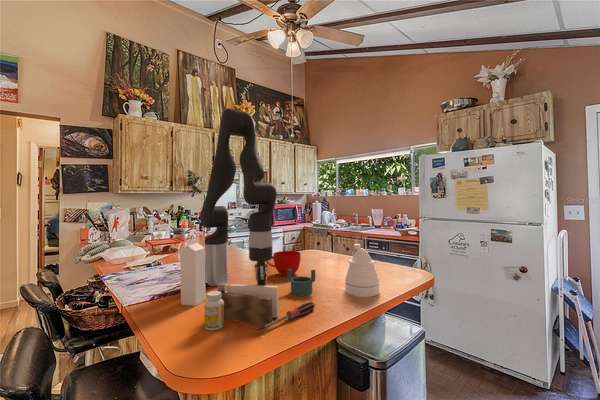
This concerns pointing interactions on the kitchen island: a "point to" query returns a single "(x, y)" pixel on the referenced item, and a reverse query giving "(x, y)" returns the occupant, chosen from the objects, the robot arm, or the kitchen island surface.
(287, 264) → the ceramic cup
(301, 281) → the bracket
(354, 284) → the honey pot
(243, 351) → the kitchen island surface
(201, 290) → the milk
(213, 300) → the supplement bottle
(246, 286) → the cream flat slab
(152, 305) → the kitchen island surface
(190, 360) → the kitchen island surface
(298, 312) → the screwdriver
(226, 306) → the brown rectangular block
